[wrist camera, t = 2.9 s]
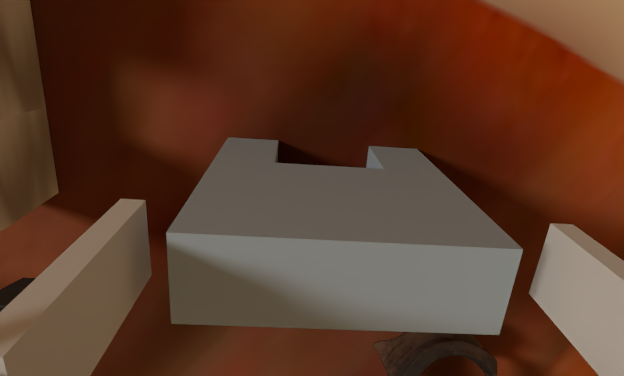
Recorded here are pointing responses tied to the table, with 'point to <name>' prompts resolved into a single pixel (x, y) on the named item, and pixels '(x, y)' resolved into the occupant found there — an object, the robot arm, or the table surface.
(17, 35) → the slotted board
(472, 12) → the table surface
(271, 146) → the slotted plate
